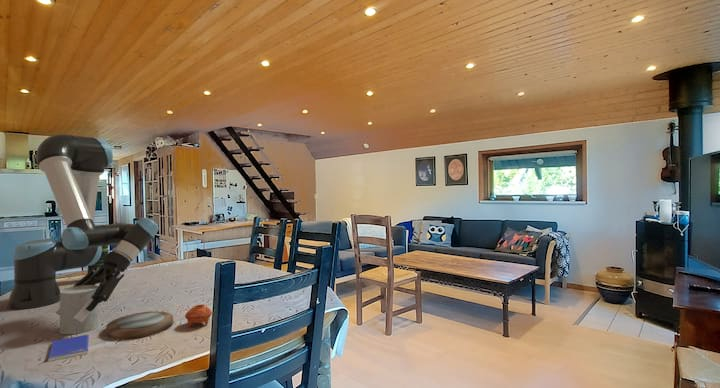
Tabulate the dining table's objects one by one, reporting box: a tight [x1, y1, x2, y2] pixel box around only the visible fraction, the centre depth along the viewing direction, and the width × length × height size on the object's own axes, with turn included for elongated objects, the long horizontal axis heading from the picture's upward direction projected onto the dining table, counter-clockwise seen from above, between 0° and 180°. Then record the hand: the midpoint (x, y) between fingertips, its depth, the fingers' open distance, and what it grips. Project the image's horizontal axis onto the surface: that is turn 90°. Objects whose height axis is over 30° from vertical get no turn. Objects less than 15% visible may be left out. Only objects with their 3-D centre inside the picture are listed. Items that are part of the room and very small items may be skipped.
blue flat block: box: [47, 334, 90, 363], centre depth 99 cm, size 2×8×12 cm
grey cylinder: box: [59, 284, 99, 335], centre depth 113 cm, size 10×10×12 cm
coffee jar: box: [87, 246, 109, 274], centre depth 172 cm, size 10×8×19 cm
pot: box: [184, 304, 213, 328], centre depth 118 cm, size 8×8×7 cm
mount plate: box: [105, 310, 174, 340], centre depth 114 cm, size 18×18×2 cm
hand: (68, 317), depth 110 cm, fingers closed on grey cylinder, 9 cm apart
